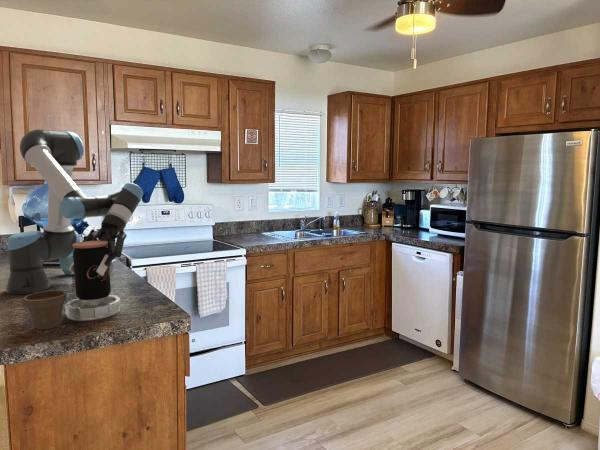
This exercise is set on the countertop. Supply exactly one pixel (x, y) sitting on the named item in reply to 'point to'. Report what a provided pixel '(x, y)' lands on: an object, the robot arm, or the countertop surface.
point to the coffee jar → (90, 270)
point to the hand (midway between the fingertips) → (85, 272)
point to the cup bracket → (92, 308)
